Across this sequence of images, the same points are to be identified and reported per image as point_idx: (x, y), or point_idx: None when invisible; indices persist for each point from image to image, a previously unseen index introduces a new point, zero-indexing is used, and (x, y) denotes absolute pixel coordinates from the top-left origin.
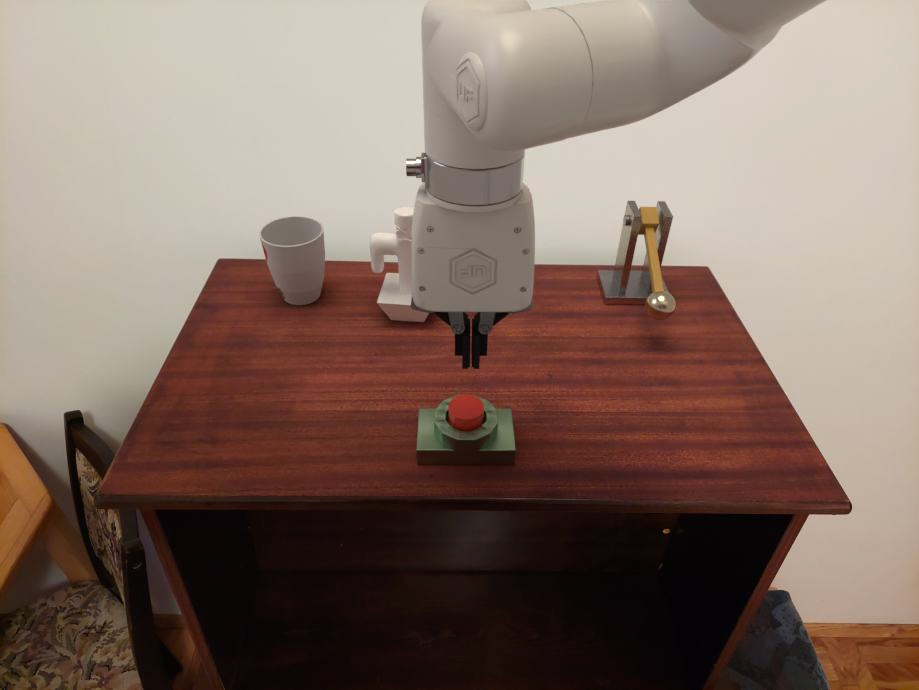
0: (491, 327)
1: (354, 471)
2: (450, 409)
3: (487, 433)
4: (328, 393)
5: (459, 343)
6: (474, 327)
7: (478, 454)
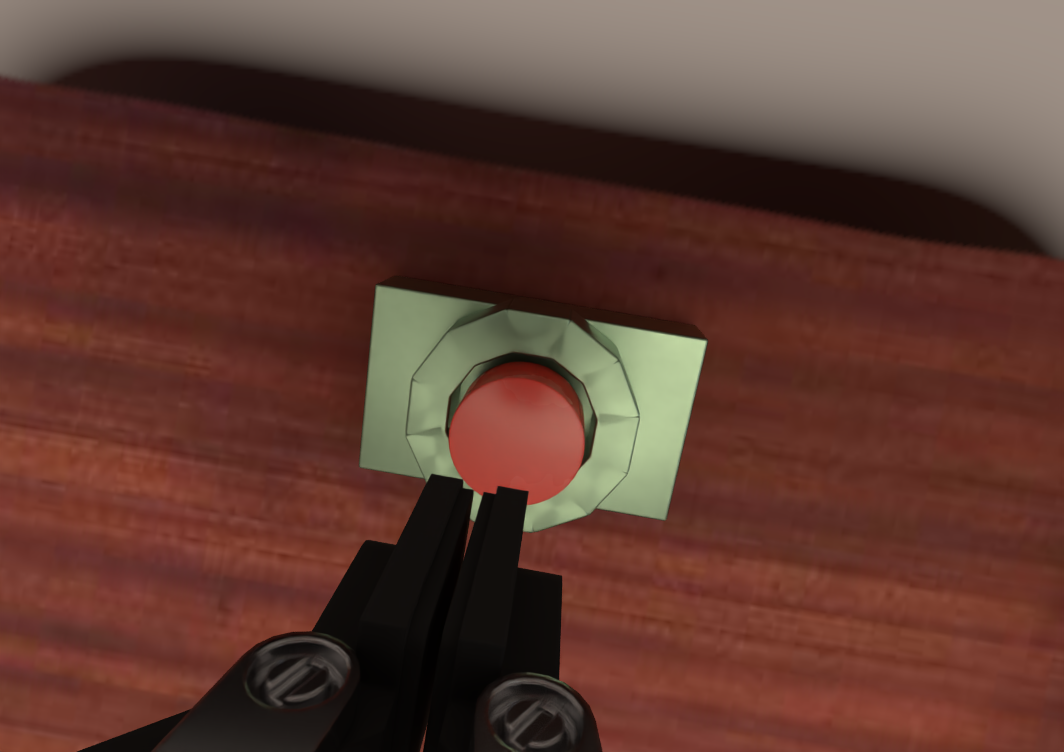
0: (232, 672)
1: (897, 330)
2: (578, 439)
3: (458, 330)
4: (920, 657)
5: (528, 626)
6: (392, 723)
7: (501, 301)
